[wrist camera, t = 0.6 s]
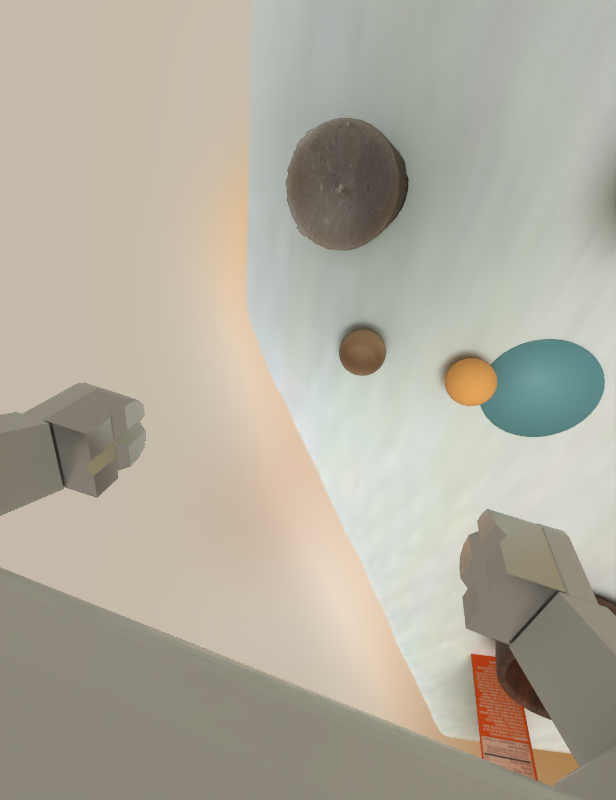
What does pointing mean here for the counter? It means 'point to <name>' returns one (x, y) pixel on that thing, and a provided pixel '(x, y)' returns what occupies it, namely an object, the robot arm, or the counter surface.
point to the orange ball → (471, 382)
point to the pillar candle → (345, 184)
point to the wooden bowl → (523, 674)
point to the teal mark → (544, 388)
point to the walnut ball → (362, 352)
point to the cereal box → (501, 721)
